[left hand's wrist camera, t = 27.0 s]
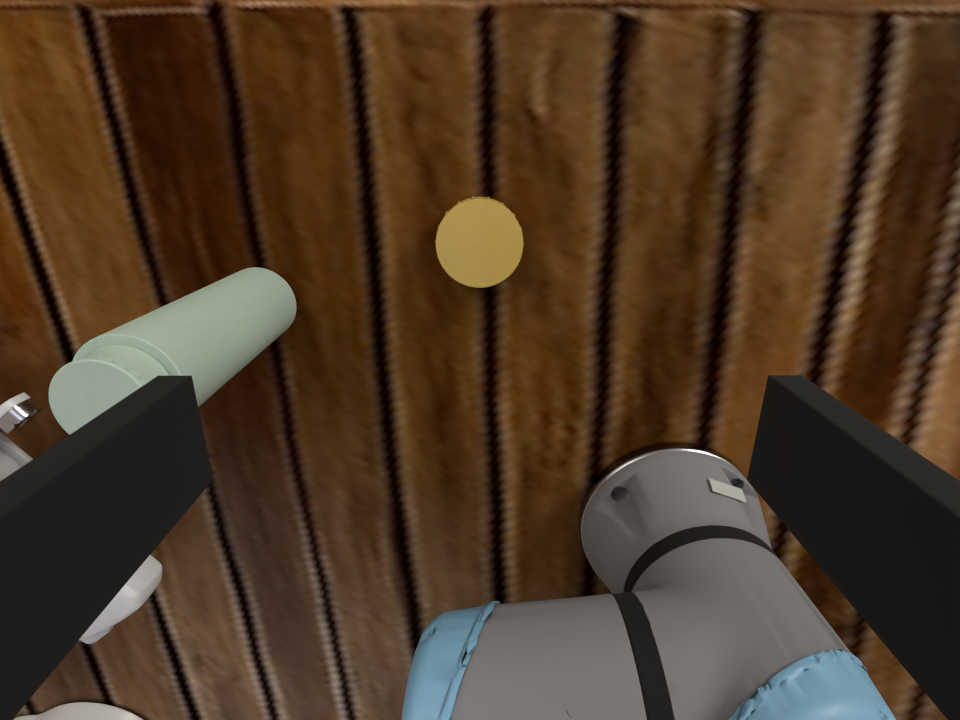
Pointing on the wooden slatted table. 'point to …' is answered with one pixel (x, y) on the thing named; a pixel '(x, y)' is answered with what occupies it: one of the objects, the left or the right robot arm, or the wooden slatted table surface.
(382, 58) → the wooden slatted table surface
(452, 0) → the wooden slatted table surface
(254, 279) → the pale green bottle
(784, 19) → the wooden slatted table surface
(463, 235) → the lid
